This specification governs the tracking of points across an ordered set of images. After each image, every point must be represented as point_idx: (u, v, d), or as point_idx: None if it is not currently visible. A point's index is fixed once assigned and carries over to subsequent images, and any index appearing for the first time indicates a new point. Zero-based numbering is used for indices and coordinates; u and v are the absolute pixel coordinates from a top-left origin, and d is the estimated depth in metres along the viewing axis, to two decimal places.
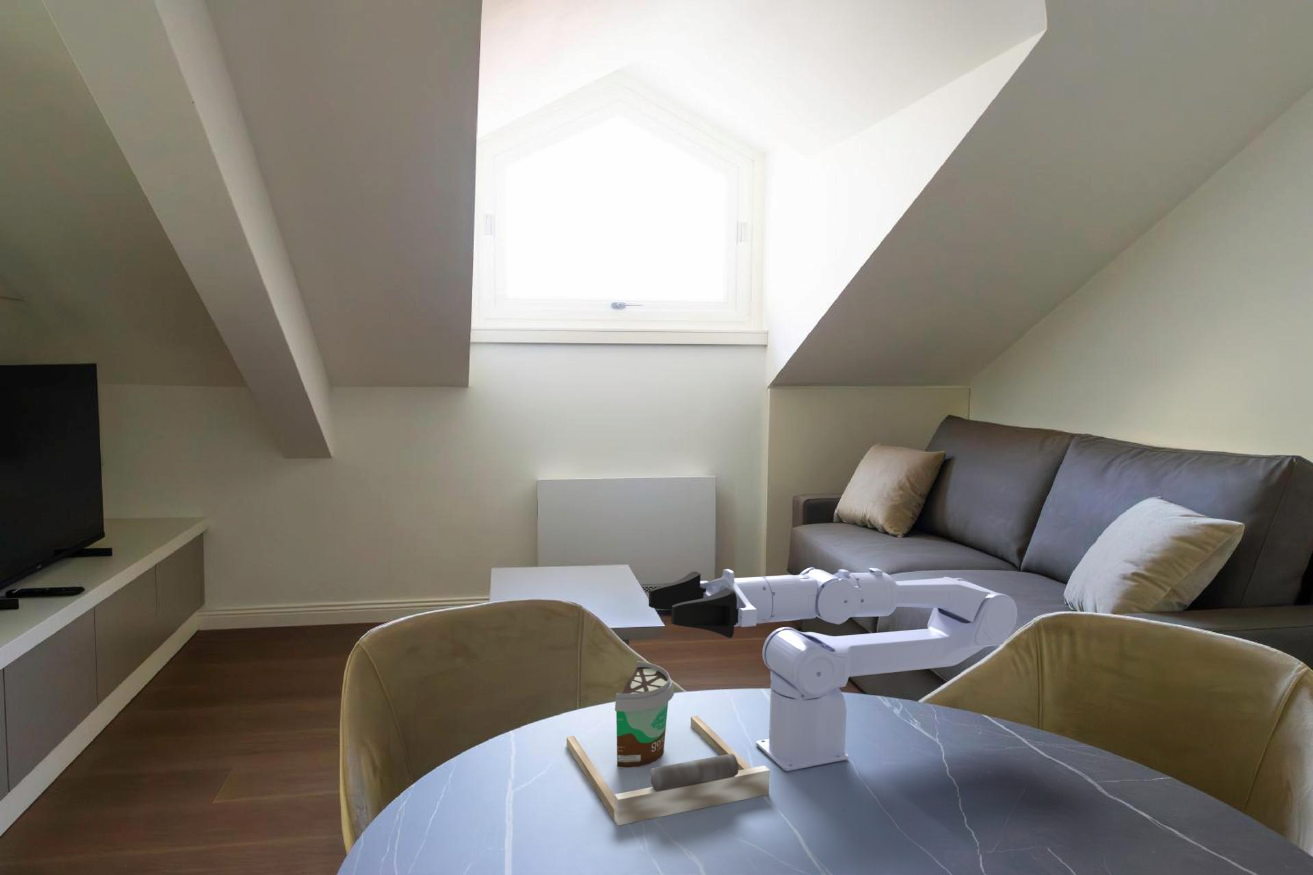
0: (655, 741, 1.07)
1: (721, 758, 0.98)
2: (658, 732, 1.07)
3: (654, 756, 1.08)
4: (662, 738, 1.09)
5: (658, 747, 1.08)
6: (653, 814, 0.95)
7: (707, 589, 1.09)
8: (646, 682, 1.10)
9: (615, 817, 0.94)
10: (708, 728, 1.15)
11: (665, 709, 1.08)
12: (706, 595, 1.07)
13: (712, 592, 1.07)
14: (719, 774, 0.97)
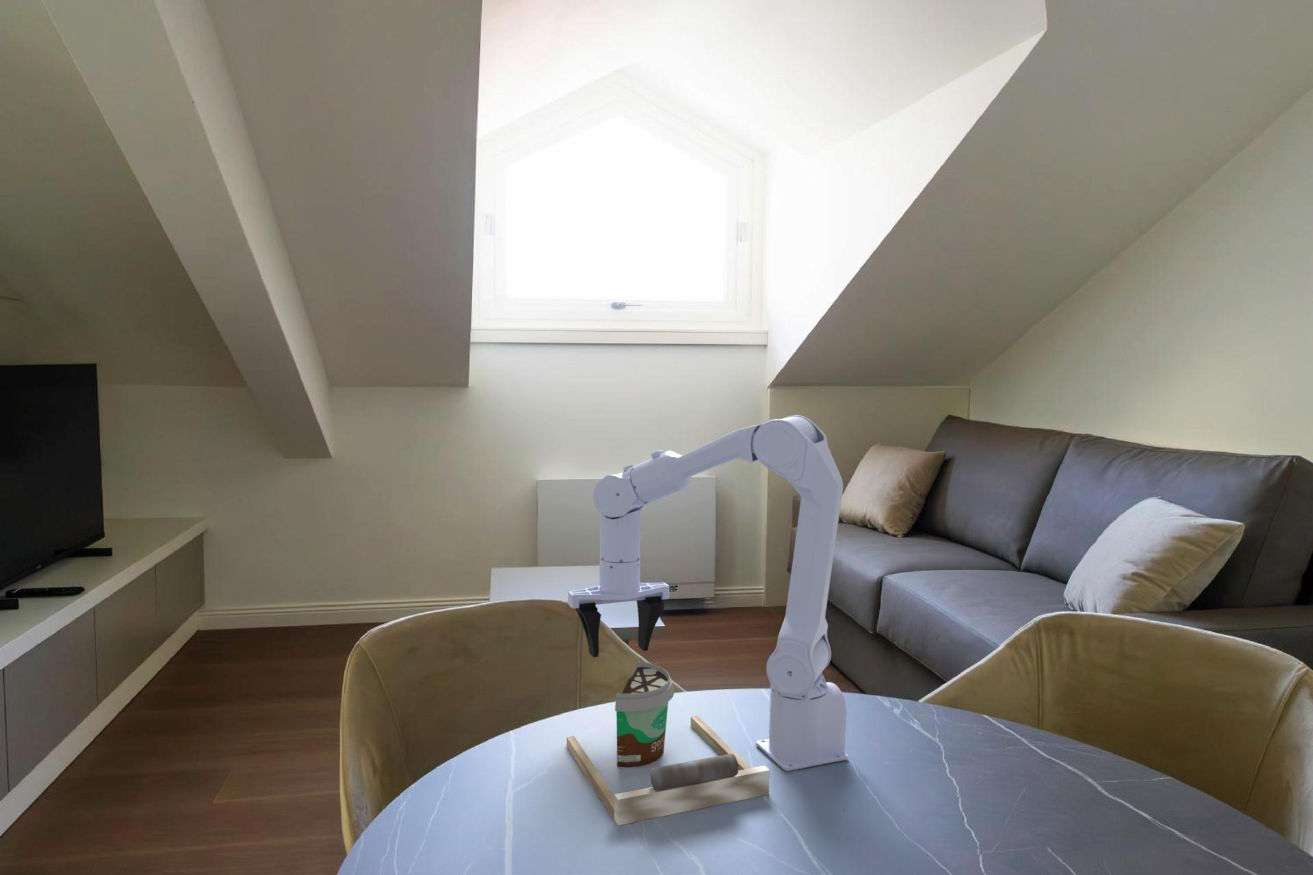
0: (655, 741, 1.07)
1: (721, 758, 0.98)
2: (658, 732, 1.07)
3: (654, 756, 1.08)
4: (662, 738, 1.09)
5: (658, 747, 1.08)
6: (653, 814, 0.95)
7: None
8: (646, 682, 1.10)
9: (615, 817, 0.94)
10: (708, 728, 1.15)
11: (665, 709, 1.08)
12: None
13: None
14: (719, 774, 0.97)
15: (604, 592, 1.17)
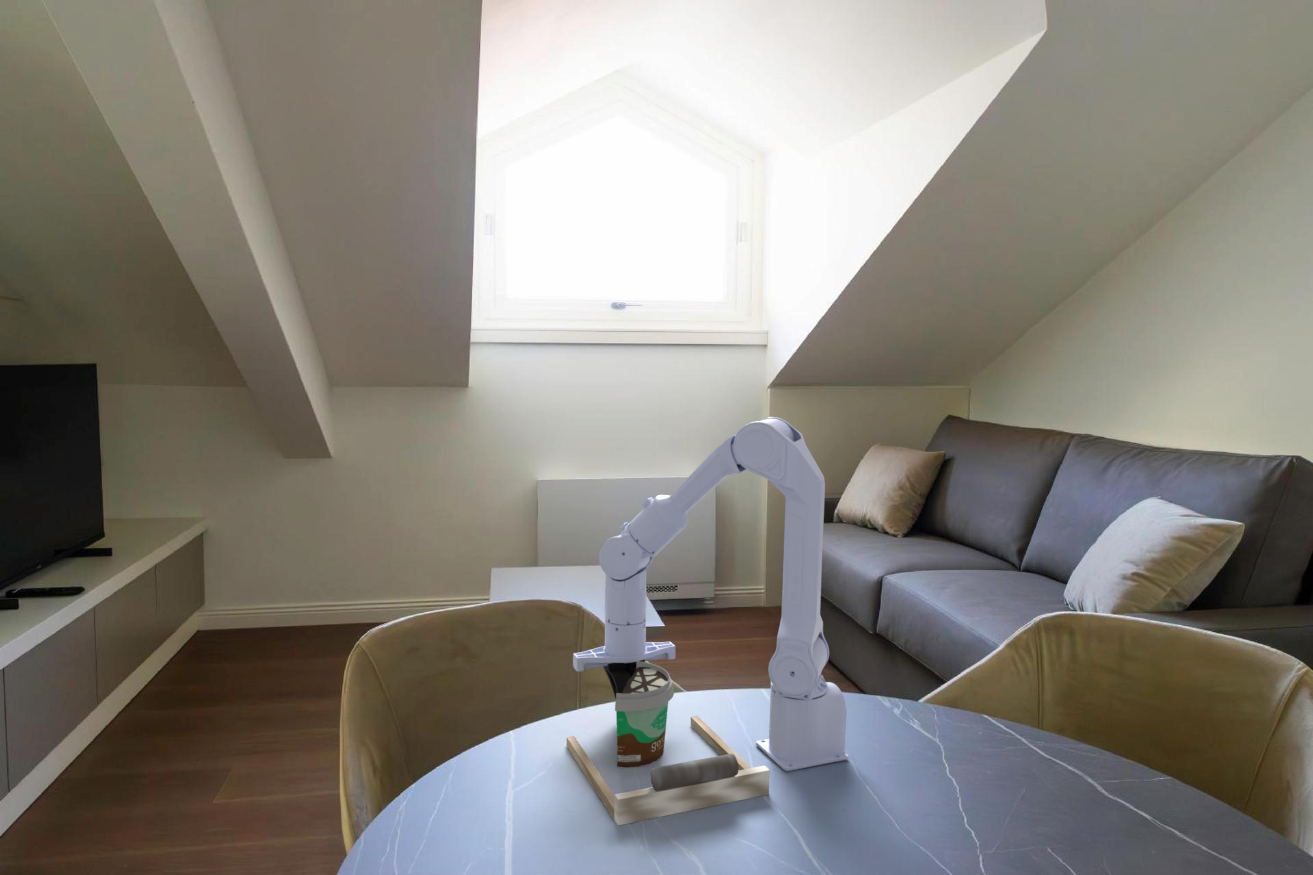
0: (655, 741, 1.07)
1: (721, 758, 0.98)
2: (658, 732, 1.07)
3: (654, 756, 1.08)
4: (662, 738, 1.09)
5: (658, 747, 1.08)
6: (653, 814, 0.95)
7: None
8: (646, 682, 1.10)
9: (615, 817, 0.94)
10: (708, 728, 1.15)
11: (665, 709, 1.08)
12: (644, 659, 1.19)
13: None
14: (719, 774, 0.97)
15: (609, 654, 1.16)
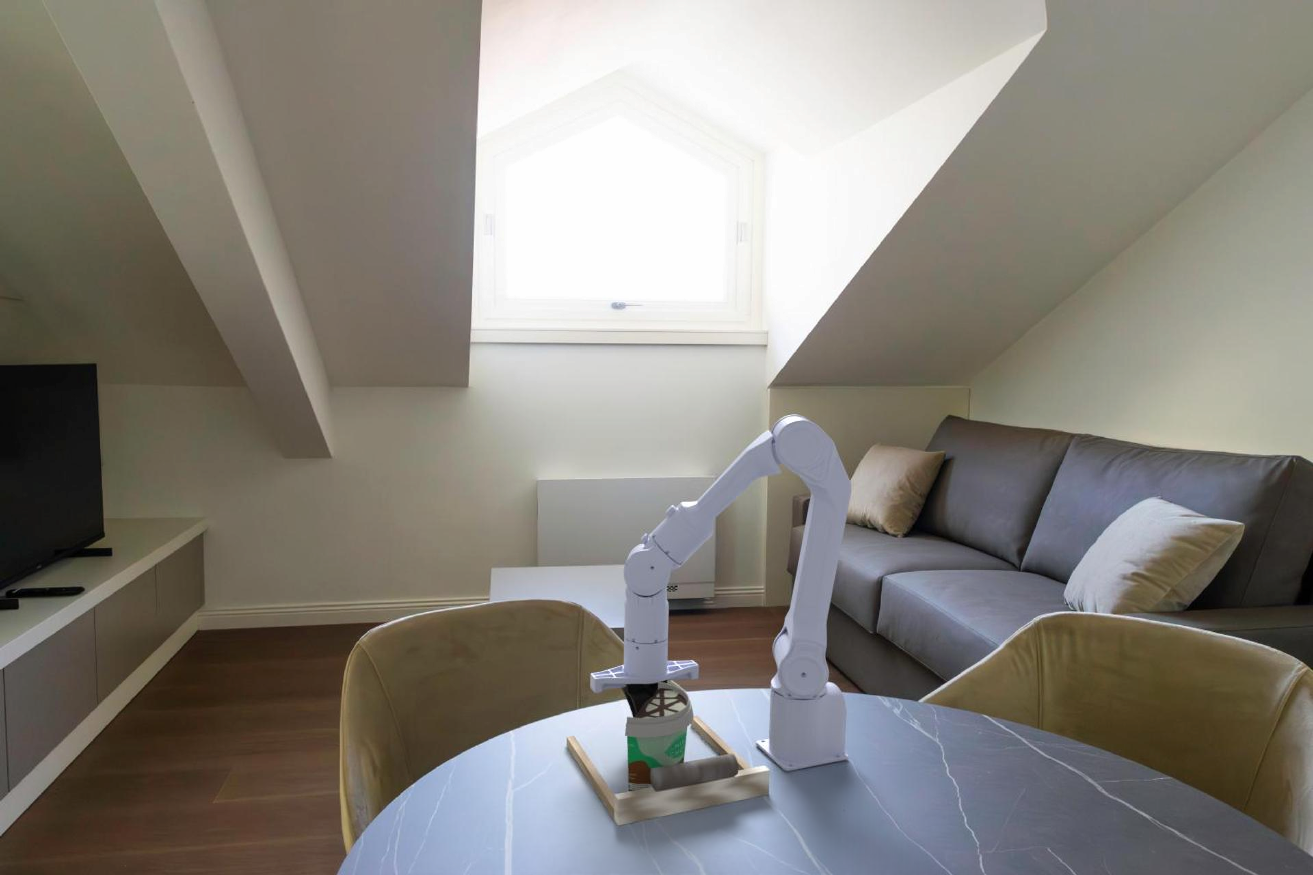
0: None
1: (721, 758, 0.98)
2: (674, 761, 1.00)
3: None
4: None
5: None
6: (653, 814, 0.95)
7: None
8: (664, 706, 1.03)
9: (615, 817, 0.94)
10: (708, 728, 1.15)
11: (682, 736, 1.01)
12: None
13: None
14: (719, 774, 0.97)
15: (629, 674, 1.08)
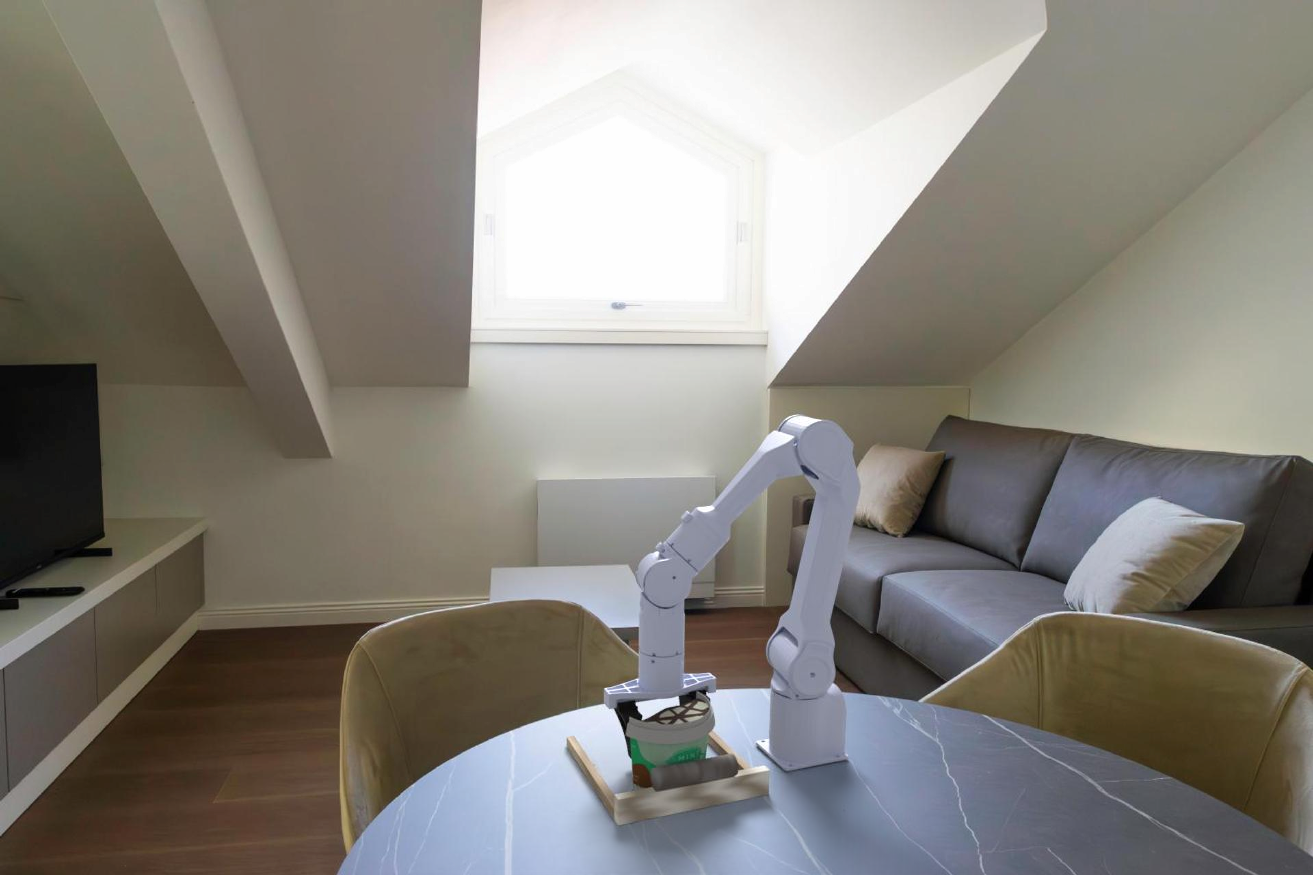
0: None
1: (721, 758, 0.98)
2: None
3: None
4: None
5: None
6: (653, 814, 0.95)
7: None
8: (682, 715, 1.00)
9: (615, 817, 0.94)
10: None
11: (690, 750, 0.97)
12: None
13: None
14: (719, 774, 0.97)
15: (644, 689, 1.04)
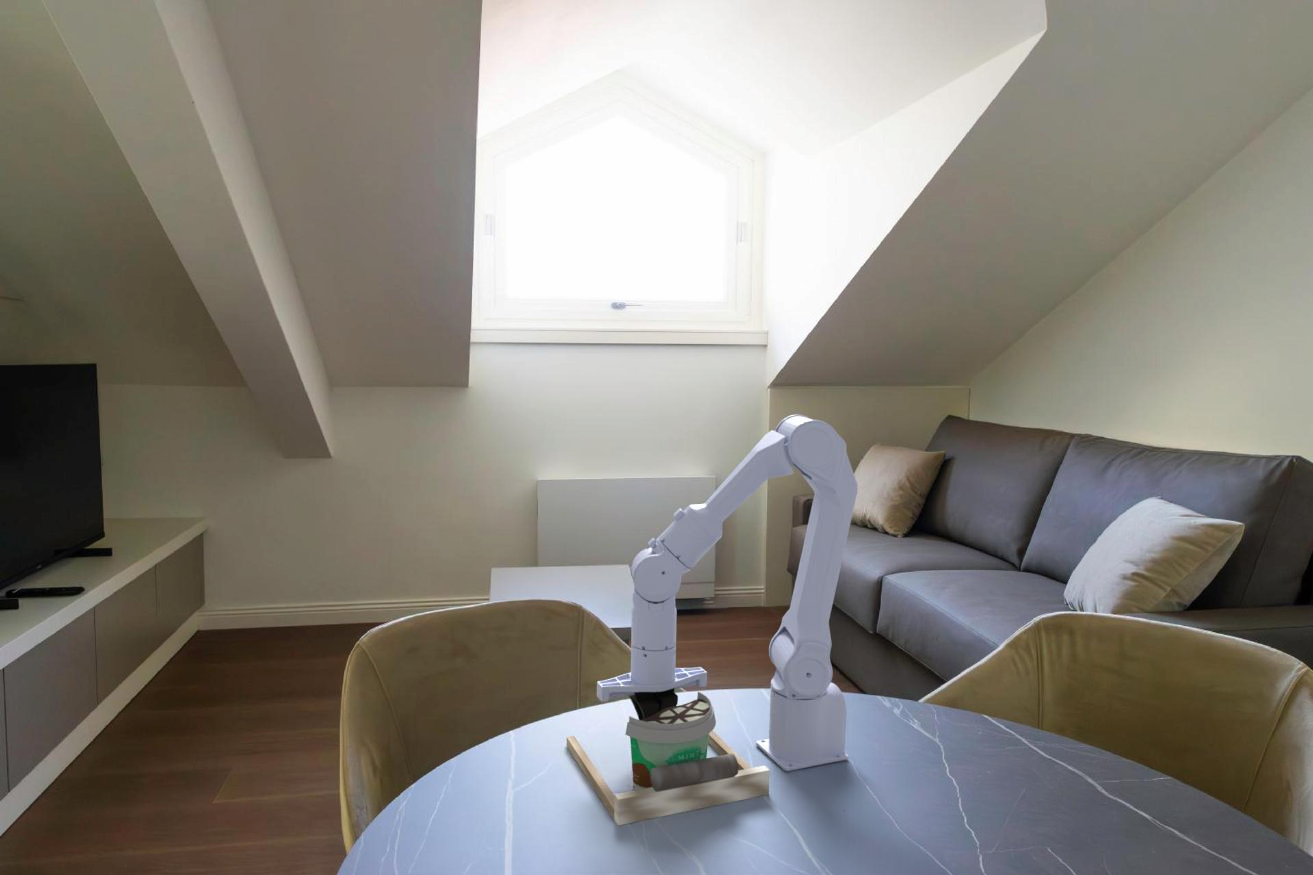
0: None
1: (721, 758, 0.98)
2: None
3: None
4: None
5: None
6: (653, 814, 0.95)
7: None
8: (682, 715, 1.00)
9: (615, 817, 0.94)
10: None
11: (690, 750, 0.97)
12: None
13: None
14: (719, 774, 0.97)
15: (637, 682, 1.06)
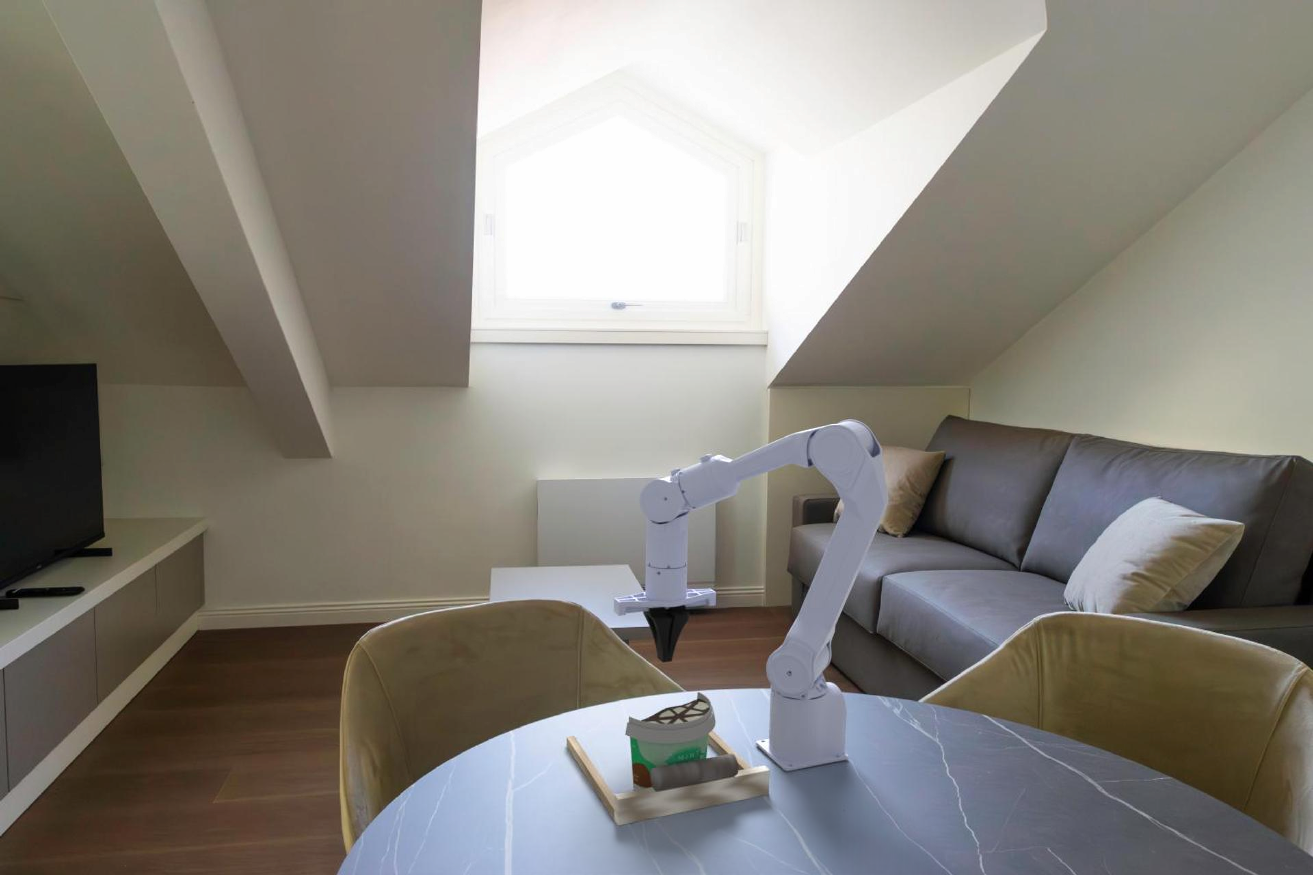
0: None
1: (721, 758, 0.98)
2: None
3: None
4: None
5: None
6: (653, 814, 0.95)
7: None
8: (682, 715, 1.00)
9: (615, 817, 0.94)
10: None
11: (690, 750, 0.97)
12: (684, 605, 1.18)
13: None
14: (719, 774, 0.97)
15: (651, 599, 1.15)
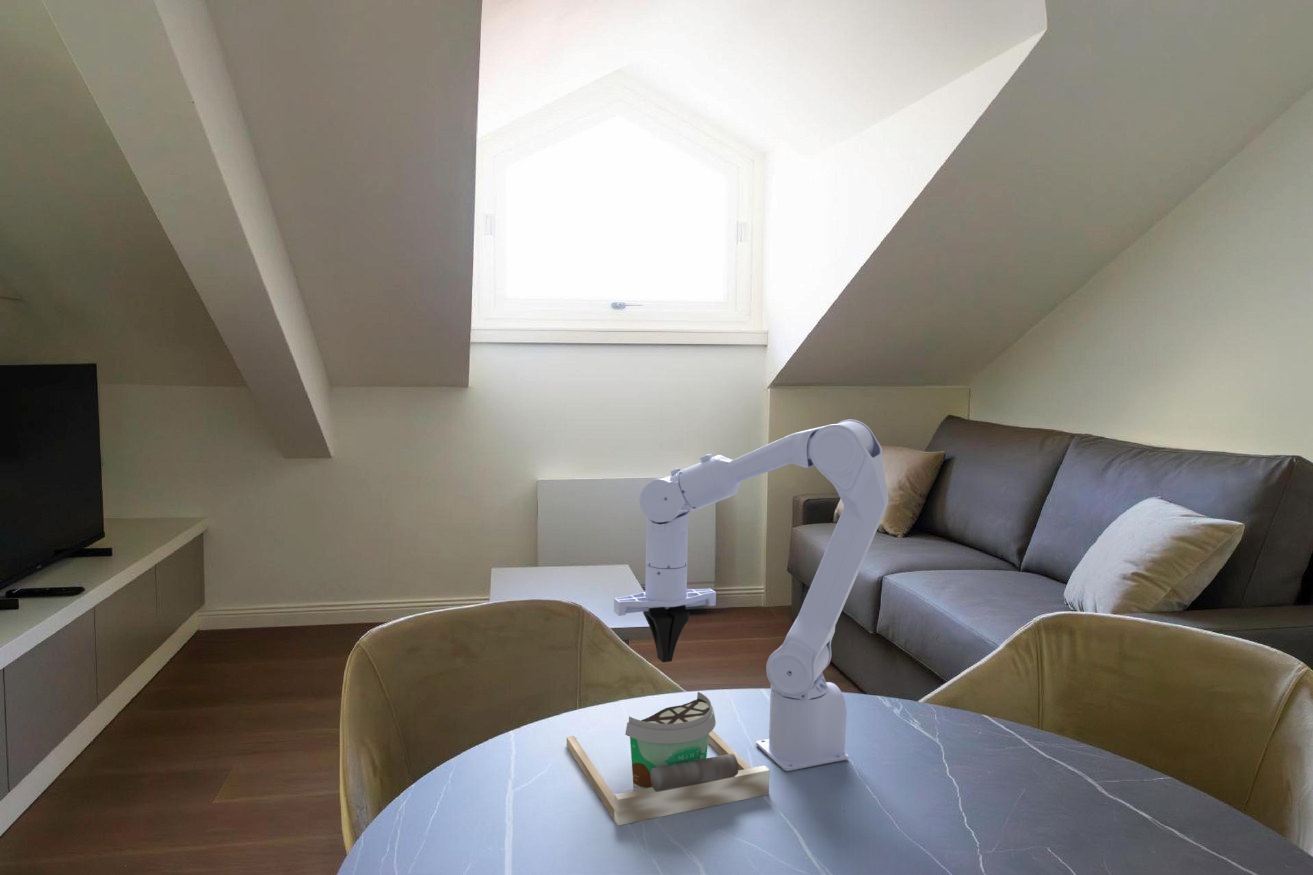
0: None
1: (721, 758, 0.98)
2: None
3: None
4: None
5: None
6: (653, 814, 0.95)
7: None
8: (682, 715, 1.00)
9: (615, 817, 0.94)
10: None
11: (690, 750, 0.97)
12: (684, 605, 1.18)
13: None
14: (719, 774, 0.97)
15: (651, 599, 1.15)
